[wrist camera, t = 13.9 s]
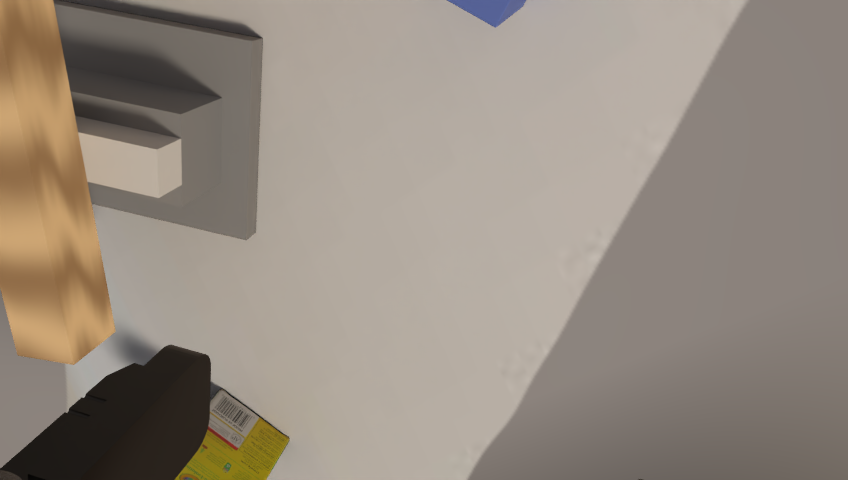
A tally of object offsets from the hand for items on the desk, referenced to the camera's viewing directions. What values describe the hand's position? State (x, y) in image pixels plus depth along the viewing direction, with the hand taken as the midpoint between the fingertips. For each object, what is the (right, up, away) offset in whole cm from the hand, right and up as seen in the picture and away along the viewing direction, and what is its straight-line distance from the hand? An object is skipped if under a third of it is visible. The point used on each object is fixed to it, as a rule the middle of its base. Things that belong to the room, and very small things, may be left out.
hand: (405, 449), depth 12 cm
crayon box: (-14, -12, +46) cm, 49 cm away
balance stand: (-20, +13, +36) cm, 43 cm away
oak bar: (-22, +9, +28) cm, 37 cm away
